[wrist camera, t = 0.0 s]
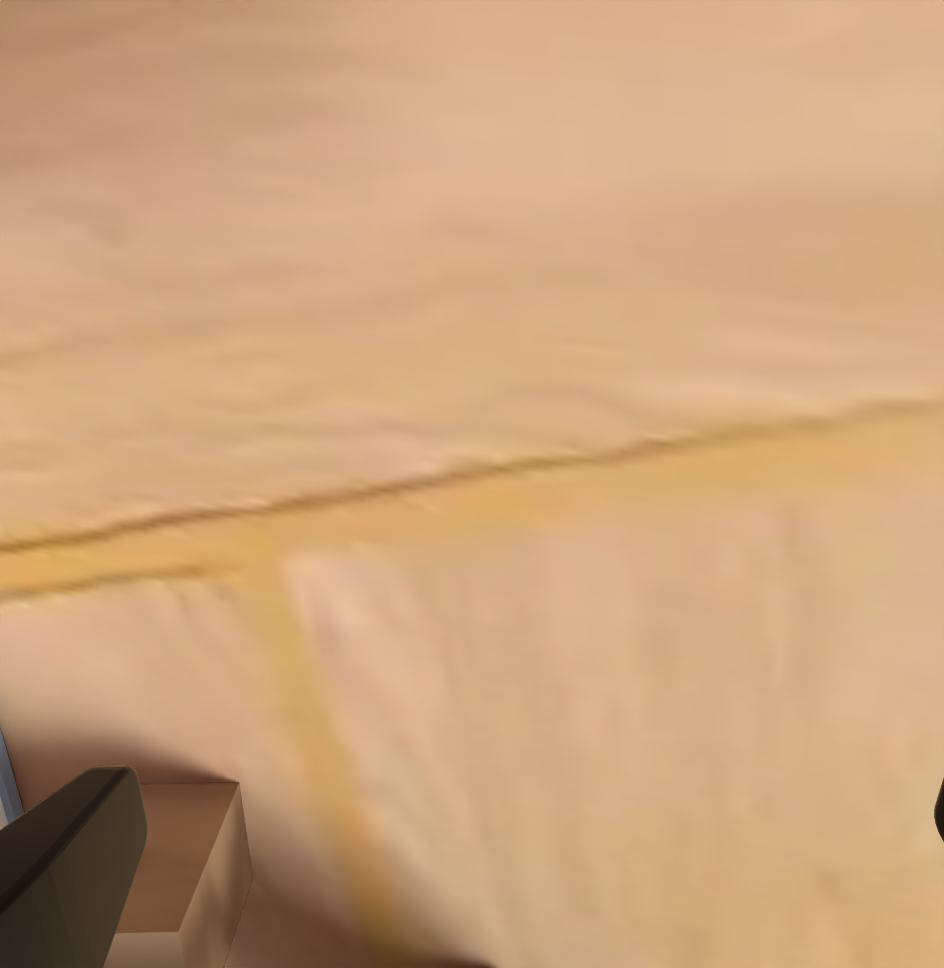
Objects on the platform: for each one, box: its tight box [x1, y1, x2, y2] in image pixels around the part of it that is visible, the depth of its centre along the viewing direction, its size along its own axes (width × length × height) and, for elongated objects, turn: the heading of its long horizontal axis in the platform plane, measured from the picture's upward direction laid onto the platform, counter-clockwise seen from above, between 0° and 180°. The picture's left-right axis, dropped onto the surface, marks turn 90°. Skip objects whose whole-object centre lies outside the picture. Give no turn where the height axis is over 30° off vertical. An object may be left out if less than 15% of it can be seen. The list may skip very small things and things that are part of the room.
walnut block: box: [103, 783, 253, 968], centre depth 23 cm, size 5×5×6 cm
